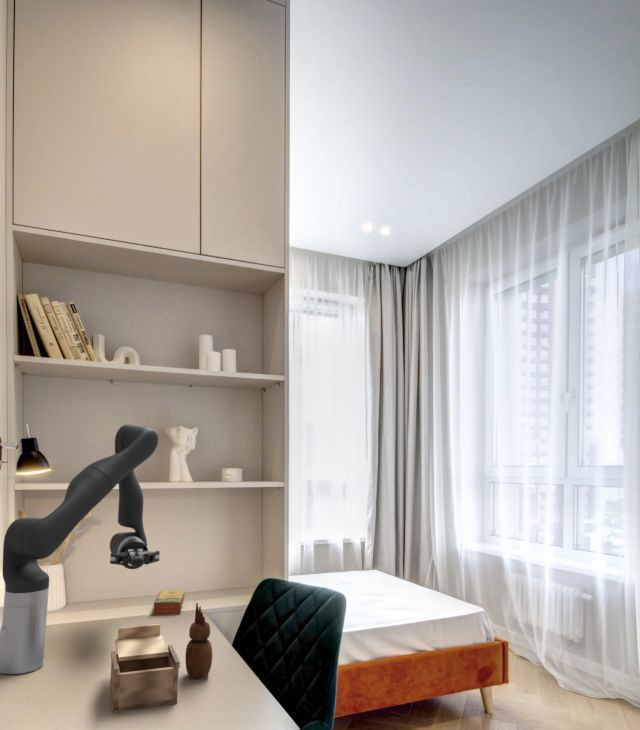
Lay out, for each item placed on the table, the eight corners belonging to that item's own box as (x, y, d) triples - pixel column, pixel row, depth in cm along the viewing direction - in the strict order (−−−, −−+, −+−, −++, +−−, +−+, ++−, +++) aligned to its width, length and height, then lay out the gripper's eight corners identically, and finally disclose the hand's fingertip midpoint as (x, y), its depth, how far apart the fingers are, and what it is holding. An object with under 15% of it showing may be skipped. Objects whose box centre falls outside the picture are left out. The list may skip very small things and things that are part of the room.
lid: (118, 661, 120) (119, 644, 121) (115, 643, 132) (116, 627, 132) (168, 655, 124) (169, 639, 124) (161, 638, 136) (162, 623, 136)
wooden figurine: (183, 671, 134) (186, 602, 136) (209, 669, 135) (211, 600, 138) (186, 682, 127) (189, 609, 130) (213, 679, 129) (215, 607, 131)
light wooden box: (111, 712, 112) (114, 669, 113) (108, 687, 124) (111, 649, 125) (178, 702, 117) (179, 661, 118) (169, 680, 129) (171, 642, 130)
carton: (184, 603, 198) (185, 589, 199) (180, 615, 183) (181, 601, 183) (158, 603, 197) (159, 590, 198) (152, 616, 181) (153, 601, 182)
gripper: (107, 539, 161) (110, 548, 145) (158, 537, 166) (166, 545, 150) (106, 568, 160) (108, 580, 144) (156, 565, 164) (164, 576, 149)
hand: (138, 562), depth 147 cm, fingers closed
